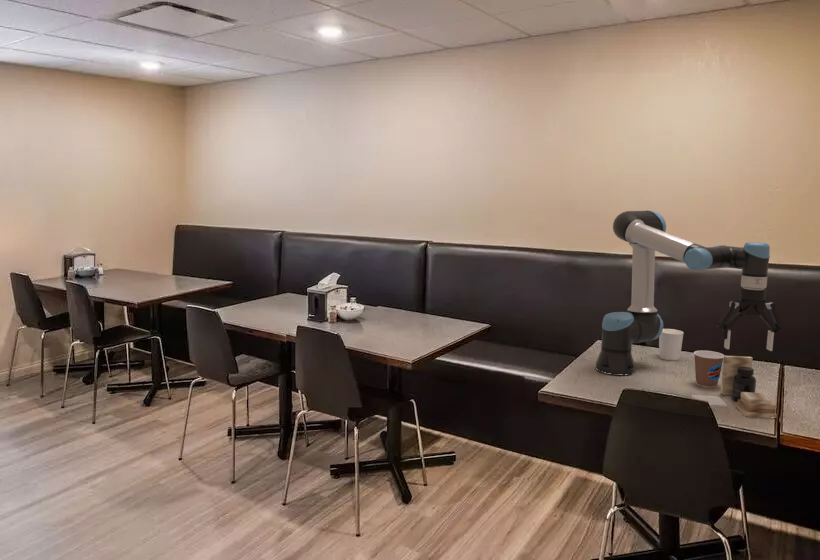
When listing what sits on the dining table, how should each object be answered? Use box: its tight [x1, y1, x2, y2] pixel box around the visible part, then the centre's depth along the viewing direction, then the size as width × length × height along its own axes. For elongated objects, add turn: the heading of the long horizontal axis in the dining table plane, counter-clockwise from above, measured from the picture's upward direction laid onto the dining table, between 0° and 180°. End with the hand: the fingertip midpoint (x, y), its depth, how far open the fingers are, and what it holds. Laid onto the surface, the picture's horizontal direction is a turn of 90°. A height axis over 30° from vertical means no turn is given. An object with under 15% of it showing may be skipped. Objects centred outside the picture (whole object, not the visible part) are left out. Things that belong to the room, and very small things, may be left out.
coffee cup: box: [693, 350, 725, 389], centre depth 218 cm, size 10×10×12 cm
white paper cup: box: [658, 328, 684, 361], centre depth 254 cm, size 10×10×12 cm
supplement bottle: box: [731, 367, 757, 403], centre depth 201 cm, size 7×7×12 cm
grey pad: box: [690, 394, 729, 409], centre depth 201 cm, size 9×9×1 cm
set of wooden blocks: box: [720, 355, 778, 419], centre depth 197 cm, size 9×23×14 cm, turn 171°
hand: (747, 349), depth 199 cm, fingers open, 13 cm apart
